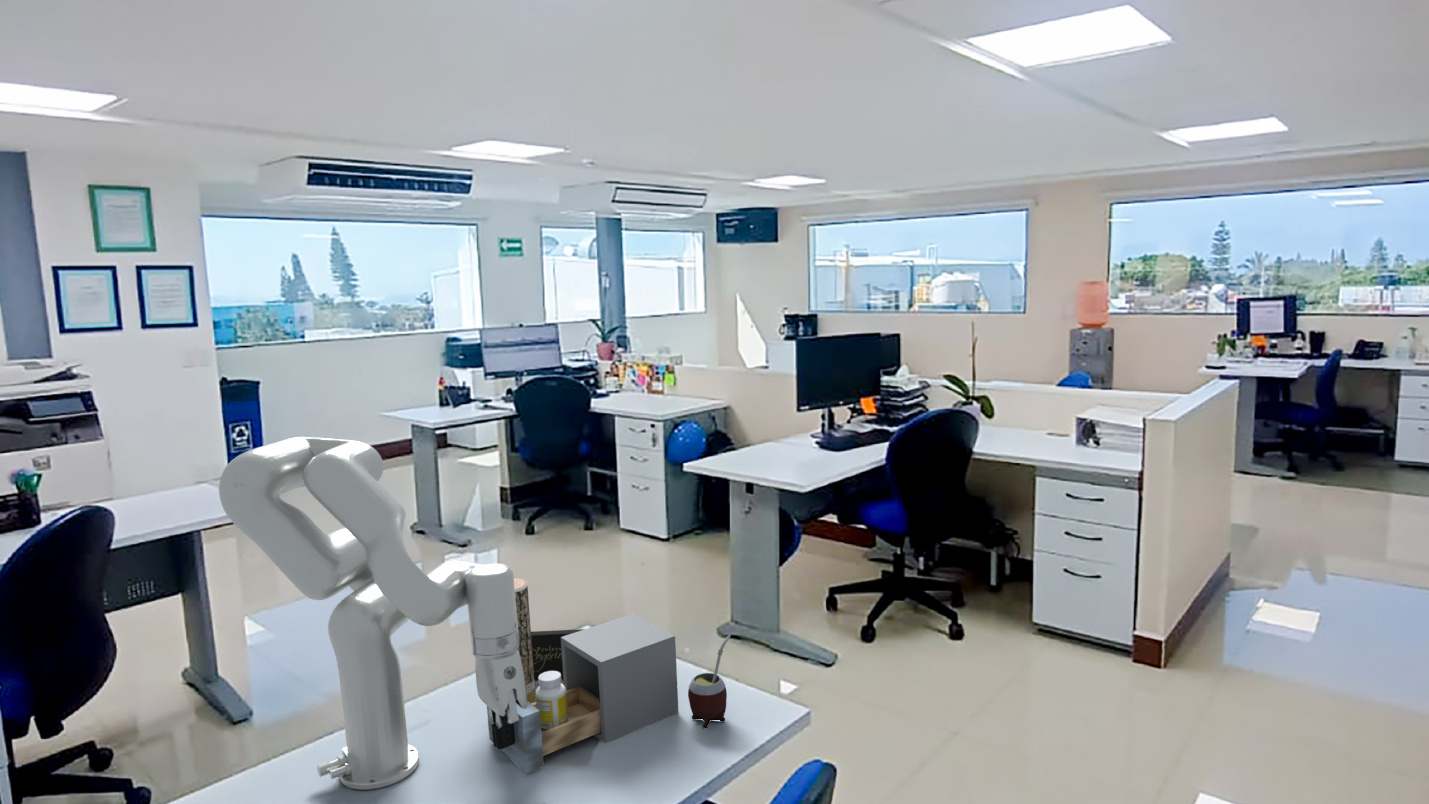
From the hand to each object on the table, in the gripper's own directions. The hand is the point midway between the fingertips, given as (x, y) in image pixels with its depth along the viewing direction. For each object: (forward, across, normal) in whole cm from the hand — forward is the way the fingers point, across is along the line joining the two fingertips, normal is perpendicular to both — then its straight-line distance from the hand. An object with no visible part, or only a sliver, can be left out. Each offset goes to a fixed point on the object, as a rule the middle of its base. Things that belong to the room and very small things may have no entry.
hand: (504, 745), depth 142 cm
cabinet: (+6, +5, -25) cm, 26 cm away
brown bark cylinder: (+5, +19, -11) cm, 23 cm away
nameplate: (+6, +25, -25) cm, 36 cm away
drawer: (+5, +4, -10) cm, 12 cm away
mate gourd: (+6, -8, -36) cm, 38 cm away
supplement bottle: (+3, +5, -11) cm, 13 cm away
